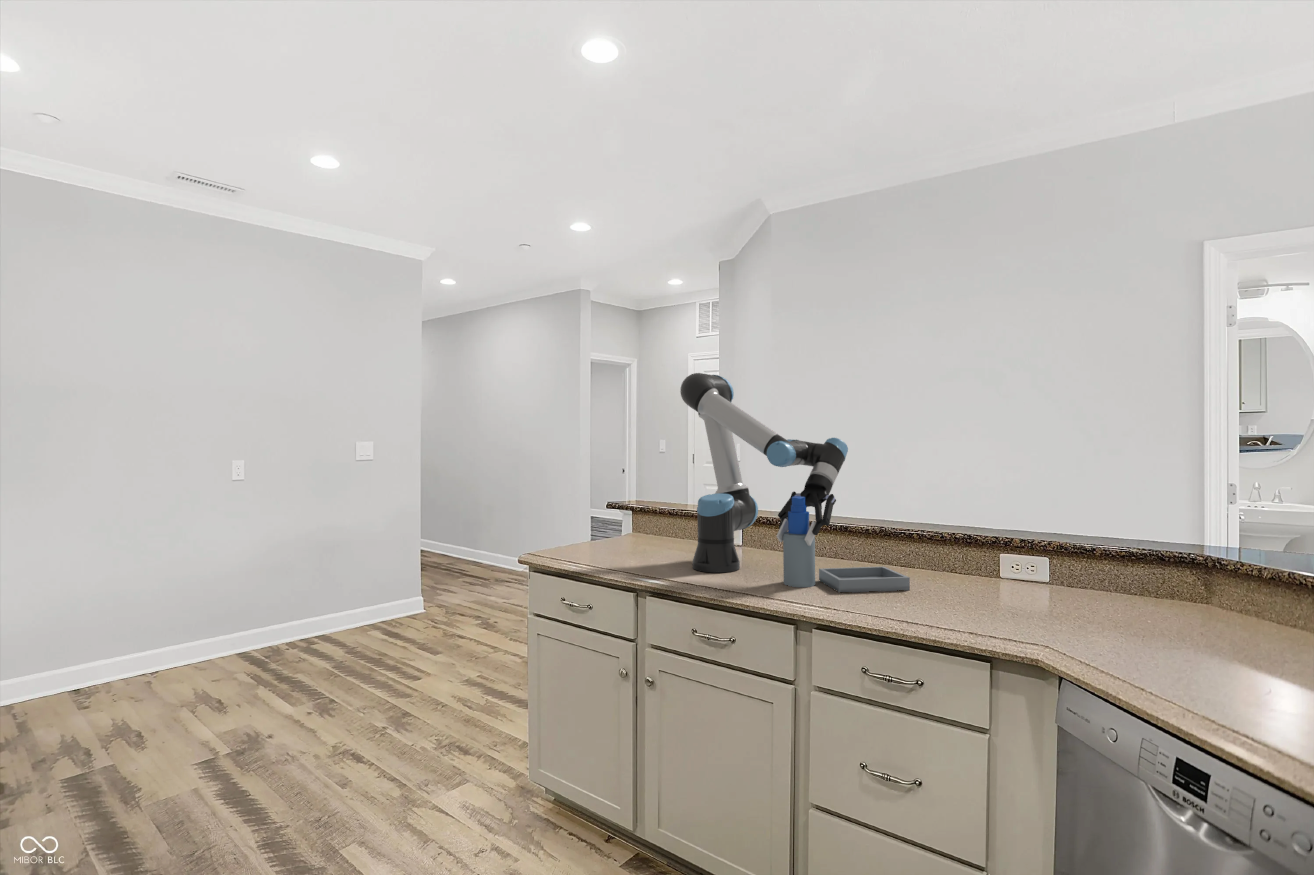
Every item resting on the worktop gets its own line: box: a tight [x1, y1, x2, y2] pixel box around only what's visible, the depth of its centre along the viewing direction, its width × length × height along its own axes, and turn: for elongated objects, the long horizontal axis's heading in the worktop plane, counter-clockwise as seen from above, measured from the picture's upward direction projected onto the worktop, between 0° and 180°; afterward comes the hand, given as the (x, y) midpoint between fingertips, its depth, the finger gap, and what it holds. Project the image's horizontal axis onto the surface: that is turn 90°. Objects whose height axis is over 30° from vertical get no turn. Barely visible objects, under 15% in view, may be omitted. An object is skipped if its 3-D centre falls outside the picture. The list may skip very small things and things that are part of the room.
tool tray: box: [818, 566, 911, 593], centre depth 183 cm, size 15×20×4 cm
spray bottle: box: [782, 496, 816, 588], centre depth 185 cm, size 9×9×25 cm
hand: (793, 540), depth 183 cm, fingers closed on spray bottle, 8 cm apart
